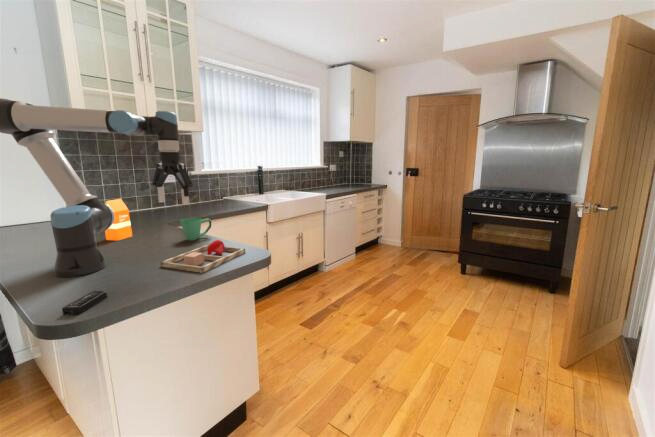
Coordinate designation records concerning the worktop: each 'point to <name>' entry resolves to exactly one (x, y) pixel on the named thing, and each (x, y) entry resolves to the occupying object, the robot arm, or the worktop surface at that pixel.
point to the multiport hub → (84, 303)
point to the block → (194, 259)
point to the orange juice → (119, 221)
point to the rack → (216, 259)
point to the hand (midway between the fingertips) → (173, 203)
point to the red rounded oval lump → (216, 247)
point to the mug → (193, 227)
